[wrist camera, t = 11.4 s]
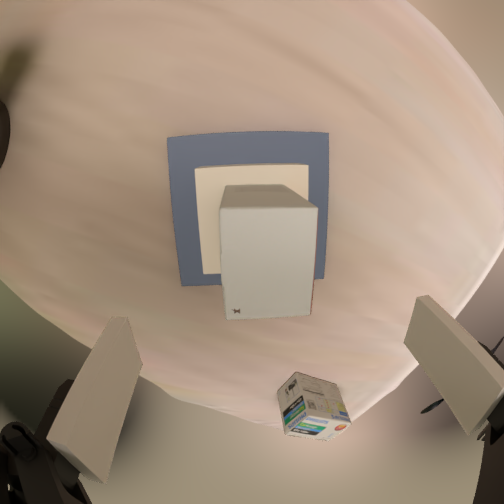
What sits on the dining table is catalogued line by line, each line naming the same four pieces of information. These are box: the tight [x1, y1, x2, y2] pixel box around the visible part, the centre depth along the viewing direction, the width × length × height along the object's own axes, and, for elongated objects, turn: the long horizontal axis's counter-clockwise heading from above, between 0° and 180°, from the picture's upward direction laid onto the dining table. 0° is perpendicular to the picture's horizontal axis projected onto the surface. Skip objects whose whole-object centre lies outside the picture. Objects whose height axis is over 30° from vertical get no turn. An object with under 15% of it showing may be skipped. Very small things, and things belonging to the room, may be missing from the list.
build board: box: [167, 131, 329, 286], centre depth 33 cm, size 20×20×6 cm
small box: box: [219, 184, 319, 320], centre depth 24 cm, size 8×6×13 cm
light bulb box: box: [277, 372, 352, 441], centre depth 44 cm, size 11×7×11 cm, turn 60°
